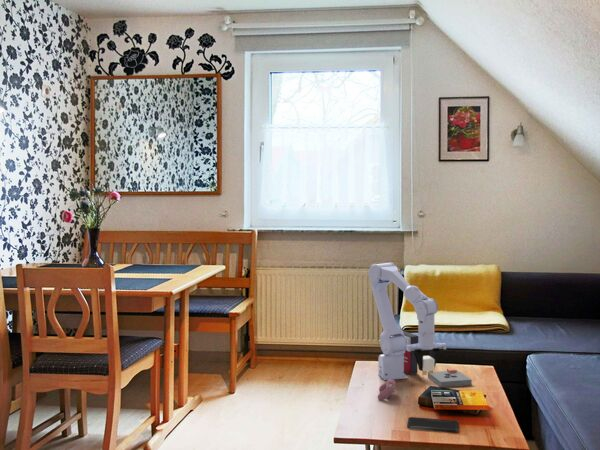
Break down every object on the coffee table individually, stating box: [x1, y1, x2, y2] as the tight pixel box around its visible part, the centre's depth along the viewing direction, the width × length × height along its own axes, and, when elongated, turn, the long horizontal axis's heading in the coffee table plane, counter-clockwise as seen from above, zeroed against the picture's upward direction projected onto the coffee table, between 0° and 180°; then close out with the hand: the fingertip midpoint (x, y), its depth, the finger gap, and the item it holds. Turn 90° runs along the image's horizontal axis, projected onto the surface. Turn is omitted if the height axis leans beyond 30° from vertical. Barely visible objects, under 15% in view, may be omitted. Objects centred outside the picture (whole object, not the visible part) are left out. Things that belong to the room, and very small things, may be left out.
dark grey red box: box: [402, 330, 419, 376], centre depth 231 cm, size 11×4×15 cm, turn 25°
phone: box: [406, 416, 460, 434], centre depth 175 cm, size 8×1×15 cm
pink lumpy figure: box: [377, 379, 396, 401], centre depth 202 cm, size 10×5×7 cm, turn 169°
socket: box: [427, 368, 472, 388], centre depth 217 cm, size 12×12×3 cm
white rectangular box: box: [421, 355, 436, 376], centre depth 210 cm, size 4×5×6 cm
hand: (426, 369), depth 210 cm, fingers closed on white rectangular box, 4 cm apart
